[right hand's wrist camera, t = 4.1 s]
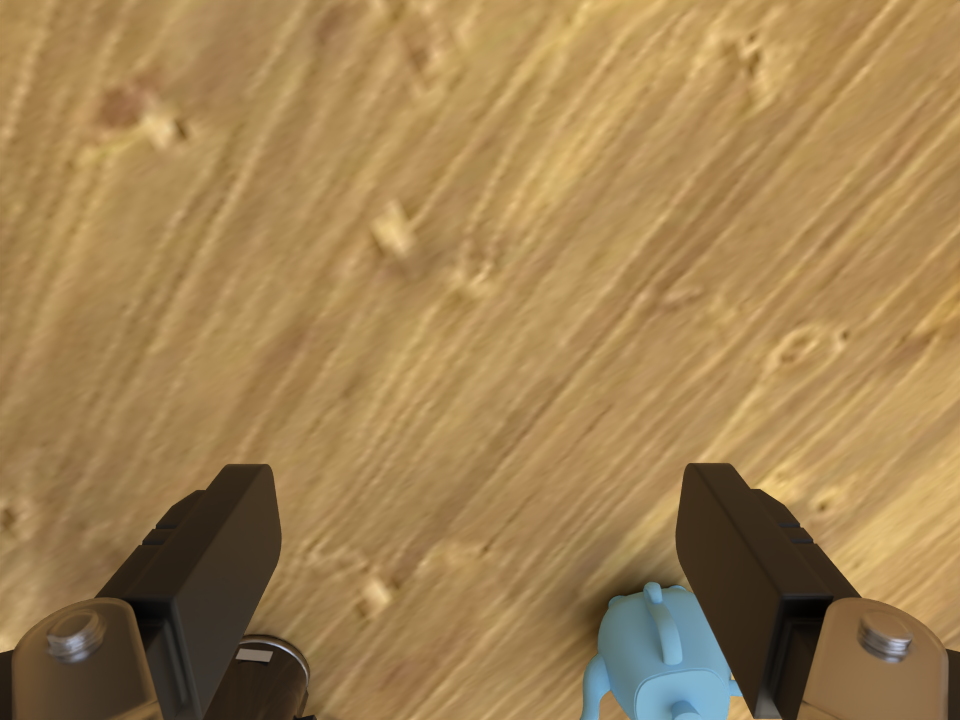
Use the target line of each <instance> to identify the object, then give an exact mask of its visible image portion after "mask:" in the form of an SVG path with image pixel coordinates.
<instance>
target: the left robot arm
mask: <svg viewBox="0 0 960 720" xmlns="http://www.w3.org/2000/svg"><path fill="white" fill-rule="evenodd" d="M309 678H310V671H309V667H308V664H307V662H306V660H305V658H304V657H303V656H302V654H301V653H300V652H299V651H298V650H296V649H295V648H294V647H293V646H291V645H289V644H288V643H286V642H284V641H281V640H279V639H276V638H272V637H267V636H247V637H242V639H241V641H240V643H239V645H238V647H237V649H236V651H235V653H234V655H233V657H232V659H231V661H230V664H229V666H228V668H227V670H226V672H225V674H224V676H223V678H222V680H221V682H220V684H219V686H218V689H217V691H216V693H215V695H214V697H213V699H212V701H211V703H210V705H209V707H208V709H207V711H206V714H205V716H204V718H203V720H317V719H316V717H315V715H311V716H306V717H302V715H303V711H304V708H305V705H306V702H307V698H308V693H307V691H306V689H307V686H308V683H309Z"/></svg>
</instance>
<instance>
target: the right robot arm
mask: <svg viewBox="0 0 960 720" xmlns="http://www.w3.org/2000/svg"><path fill="white" fill-rule="evenodd" d="M676 549H677V555H678V559H679V562H680V564H681V567H682V569H683V571H684V573H685V575H686V577H687V579H688V581H689V584H690V586H691V588H692V590H693V592H694V594H695V596H696V598H697V600H698V603H699V605H700V607H701V609H702V611H703V613H704V615H705V617H706V619H707V622H708V624H709V626H710V628H711V630H712V632H713V634H714V636H715V638H716V640H717V643H718V645H719V647H720V649H721V651H722V653H723V655H724V657H725V659H726V662H727V664H728V666H729V668H730V670H731V672H732V674H733V676H734V678H735V681H736V683H737V685H738V687H739V689H740V691H741V693H742V695H743V697H744V699H745V702H746V704H747V706H748V708H749V710H750V712H751V714H752V716H753V718H754V719H782V720H960V652H958V651H953V650H949V649H945V647H944V646H943V644H942V642H941V641H940V640H939V638H938V637H937V636H936V635H935V634H934V633H933V632H932V631H931V630H930V629H929V628H928V627H927V626H925V625H924V624H923V623H921V622H920V621H919V620H917V619H916V618H914V617H912V616H911V615H909V614H908V613H906V612H904V611H902V610H900V609H898V608H895V607H893V606H891V605H888V604H885V603H882V602H879V601H875V600H871V599H865V598H862V597H861V596H860V595H859V594H858V592H857V591H856V590H855V589H854V588H853V586H852V585H851V584H850V583H849V582H848V580H847V579H846V578H845V577H844V576H843V574H842V573H841V572H840V571H839V570H838V568H837V567H836V566H835V565H834V564H833V563H832V561H831V560H830V559H829V558H828V557H827V555H826V554H825V553H824V552H823V551H822V549H821V548H820V547H819V546H818V545H817V544H814V543H813V539H812V537H811V536H810V535H809V534H808V533H807V532H806V530H805V529H804V528H801V527H800V523H799V522H798V521H797V520H796V518H795V517H794V516H793V515H792V514H791V512H790V511H789V510H788V509H787V508H786V506H785V505H783V504H782V503H780V502H779V501H777V500H776V499H774V498H773V497H771V496H770V495H768V494H767V493H765V492H764V491H762V490H761V489H750V488H749V486H748V485H747V484H746V482H745V481H744V480H743V479H742V477H741V476H740V475H739V473H738V472H737V471H736V470H735V468H734V467H733V466H732V465H731V464H729V463H689V464H688V465H687V466H686V468H685V471H684V476H683V482H682V490H681V497H680V504H679V511H678V518H677V525H676ZM280 551H281V526H280V519H279V512H278V505H277V498H276V491H275V484H274V477H273V472H272V469H271V467H270V466H269V465H268V464H227V465H226V466H225V467H224V468H223V469H222V470H221V471H220V473H219V474H218V475H217V476H216V478H215V479H214V480H213V481H212V483H211V484H210V485H209V487H208V488H207V489H206V490H196V491H195V492H193V493H191V494H190V495H188V496H187V497H185V498H184V499H182V500H181V501H179V502H178V503H176V504H175V505H173V506H172V507H171V508H170V509H169V510H168V511H167V513H166V514H165V515H164V516H163V517H162V519H161V520H160V521H159V522H158V523H157V524H156V529H152V530H151V532H150V533H149V534H148V535H147V536H146V537H145V539H144V540H143V543H142V545H139V546H138V547H137V548H136V549H135V550H134V552H133V553H132V554H131V555H130V556H129V558H128V559H127V560H126V561H125V562H124V563H123V565H122V566H121V567H120V568H119V569H118V571H117V572H116V573H115V574H114V575H113V576H112V578H111V579H110V580H109V581H108V582H107V584H106V585H105V586H104V587H103V588H102V589H101V591H100V592H99V593H98V594H97V595H96V597H95V598H94V599H89V600H85V601H81V602H78V603H75V604H72V605H69V606H67V607H65V608H62V609H60V610H58V611H56V612H54V613H52V614H51V615H49V616H48V617H46V618H44V619H43V620H41V621H40V622H39V623H37V624H36V625H35V626H33V627H32V628H31V629H30V630H29V631H28V632H27V633H26V634H25V635H24V636H23V637H22V638H21V640H20V641H19V642H18V644H17V646H16V647H15V649H14V650H10V651H7V652H2V653H0V720H203V718H204V716H205V714H206V711H207V709H208V707H209V705H210V703H211V701H212V699H213V697H214V695H215V693H216V691H217V689H218V686H219V684H220V682H221V680H222V678H223V676H224V674H225V672H226V670H227V668H228V666H229V664H230V661H231V659H232V657H233V655H234V653H235V651H236V649H237V647H238V645H239V643H240V641H241V639H242V637H243V634H244V632H245V630H246V628H247V626H248V624H249V622H250V620H251V618H252V616H253V614H254V612H255V609H256V607H257V605H258V603H259V601H260V599H261V597H262V595H263V593H264V591H265V589H266V587H267V584H268V582H269V580H270V578H271V576H272V574H273V572H274V570H275V568H276V566H277V563H278V560H279V556H280Z"/></svg>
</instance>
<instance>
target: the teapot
mask: <svg viewBox="0 0 960 720" xmlns="http://www.w3.org/2000/svg"><path fill="white" fill-rule="evenodd" d="M608 606H609V609H608V610H607V612H606V613H605V615H604V617H603V620H602V622H601V625H600V629H599V634H598V654H597V655H595V656H594V657H593V658H592V659H591V661H590V662H589V664H588V665H587V667H586V670H585V672H584V677H583V711H582V715H581V718H580V720H598V717H599V703H600V700H601V698H602V696H603V695H604V694H605V693H607V692H608V691H609V690H611V691H612V693H613V695H614V696H615V698H616V700H617V701H618V703H619V704H620V706H621V707H622V709H623V710H624V712H625V713H626V714H627V716H628V717H629V718H630V719H631V720H726V719H727V716H728V710H729V703H730V696H743V695H742V693H741V691H740V689H739V687H738V685H737V683H736V681H735V680H731V670H730V668H729V666H728V664H727V662H726V659H725V657H724V655H723V653H722V651H721V649H720V647H719V645H718V643H717V640H716V638H715V636H714V634H713V632H712V630H711V628H710V626H709V624H708V622H707V619H706V617H705V615H704V613H703V611H702V609H701V607H700V605H699V603H698V600H697V598H696V596H695V594H693V593H691V592H689V591H686V589H685V588H684V587H682V586H677V585H676V586H671V587H669V588H665V589H661V588H660V585H659V584H658V583H656V582H648V583H647V584H646V585H645V586H644V589H643V592H639V593H635V594H631V595H628V596H621V595H620V596H616V597H613V598H612V599H611V600H610V601H609V604H608Z"/></svg>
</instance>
